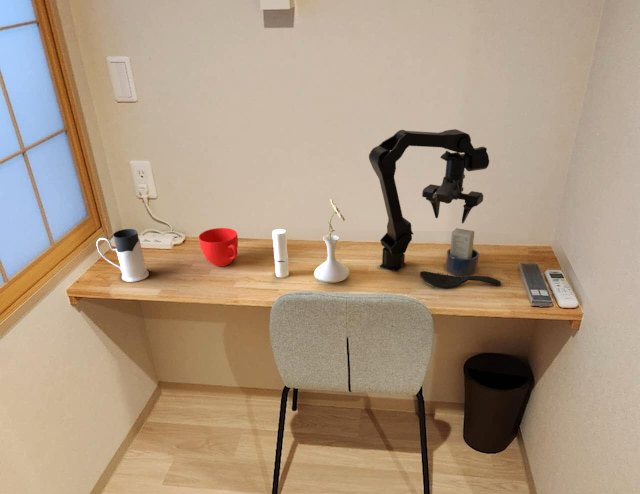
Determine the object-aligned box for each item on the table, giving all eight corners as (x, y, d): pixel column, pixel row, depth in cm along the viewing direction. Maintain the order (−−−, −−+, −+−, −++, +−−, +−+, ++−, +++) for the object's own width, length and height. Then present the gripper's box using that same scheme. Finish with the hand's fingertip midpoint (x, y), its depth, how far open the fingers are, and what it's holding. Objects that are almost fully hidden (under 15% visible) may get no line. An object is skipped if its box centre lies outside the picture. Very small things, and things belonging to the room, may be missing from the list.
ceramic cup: (222, 278, 180) (218, 249, 174) (195, 262, 190) (191, 235, 185) (254, 265, 186) (251, 238, 181) (227, 251, 197) (223, 224, 192)
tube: (283, 270, 183) (279, 227, 174) (291, 274, 180) (288, 231, 172) (273, 274, 180) (269, 231, 172) (281, 278, 178) (278, 235, 169)
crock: (440, 270, 179) (442, 255, 176) (452, 259, 186) (454, 244, 183) (469, 278, 174) (471, 262, 171) (481, 266, 181) (483, 250, 178)
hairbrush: (504, 282, 165) (420, 276, 167) (501, 293, 167) (419, 286, 169) (500, 270, 172) (420, 264, 174) (497, 280, 174) (418, 275, 176)
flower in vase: (346, 287, 172) (346, 210, 158) (311, 285, 173) (307, 208, 160) (352, 269, 182) (352, 195, 168) (318, 267, 184) (316, 194, 170)
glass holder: (146, 280, 179) (136, 237, 171) (102, 283, 179) (90, 240, 170) (151, 269, 187) (141, 227, 178) (108, 271, 186) (97, 229, 178)
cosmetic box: (470, 266, 180) (475, 231, 173) (466, 271, 177) (470, 236, 170) (452, 262, 183) (456, 227, 176) (447, 267, 180) (451, 232, 173)
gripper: (416, 175, 171) (413, 223, 180) (473, 184, 162) (467, 234, 171) (431, 166, 179) (427, 212, 187) (487, 174, 170) (480, 222, 178)
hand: (449, 220), depth 181 cm, fingers open, 9 cm apart
